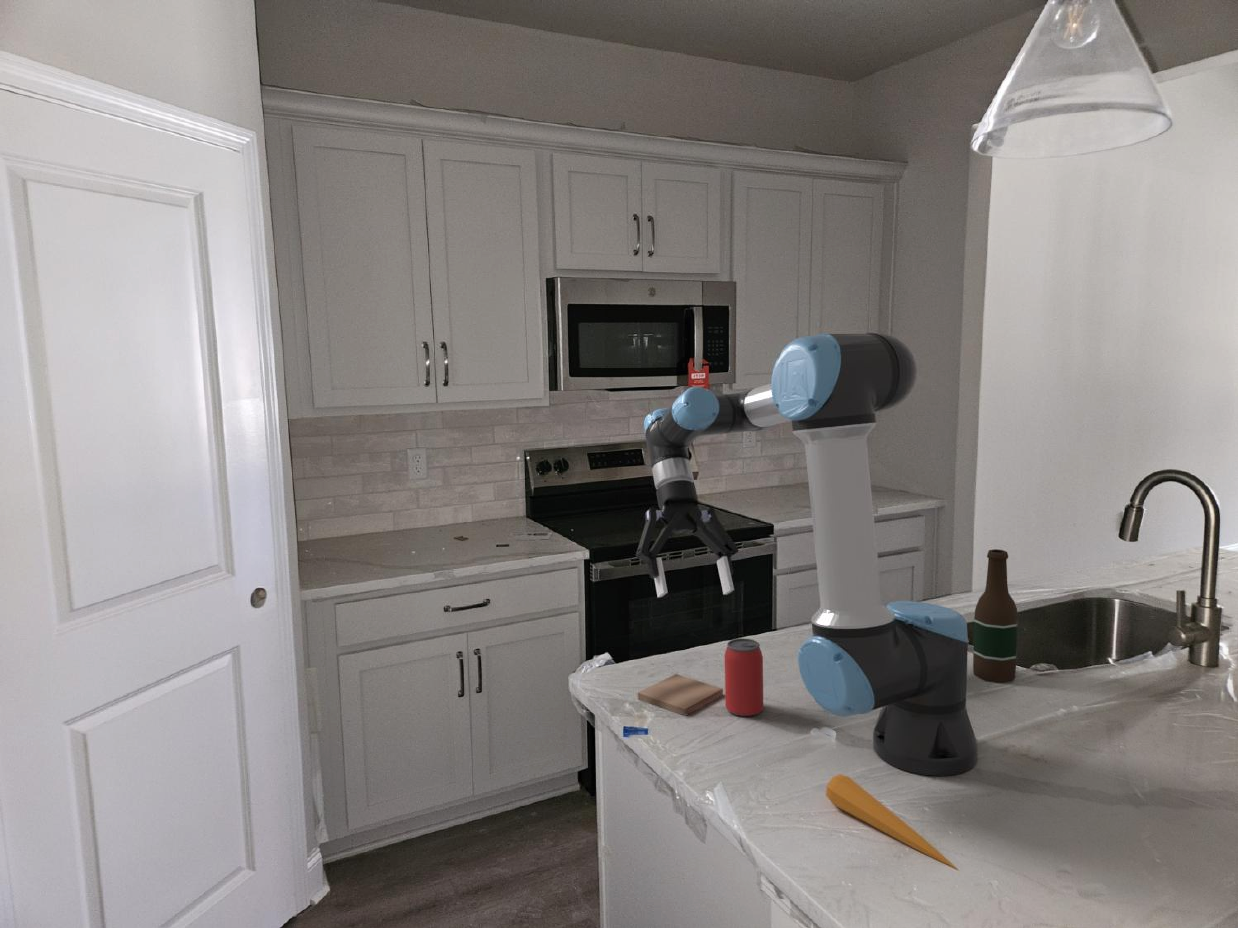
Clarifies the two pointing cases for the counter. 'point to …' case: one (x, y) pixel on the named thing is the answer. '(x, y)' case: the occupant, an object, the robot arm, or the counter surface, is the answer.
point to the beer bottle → (995, 625)
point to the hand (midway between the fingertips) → (696, 593)
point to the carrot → (876, 814)
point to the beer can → (743, 677)
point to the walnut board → (680, 694)
